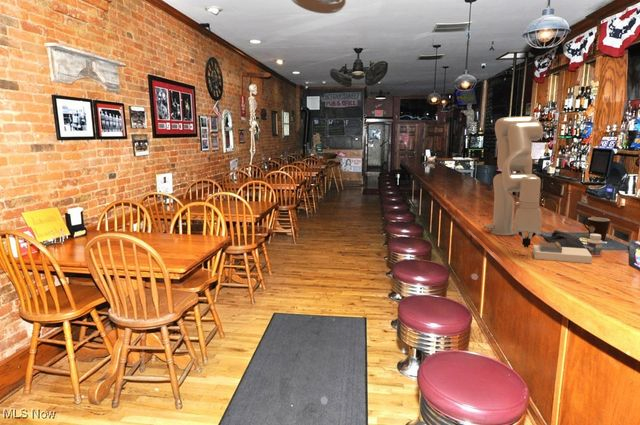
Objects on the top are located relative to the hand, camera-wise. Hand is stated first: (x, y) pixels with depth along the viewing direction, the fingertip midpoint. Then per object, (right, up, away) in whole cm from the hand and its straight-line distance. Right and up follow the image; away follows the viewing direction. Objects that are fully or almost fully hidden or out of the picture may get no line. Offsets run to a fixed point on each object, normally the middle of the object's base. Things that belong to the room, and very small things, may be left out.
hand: (526, 246), depth 170 cm
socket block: (+12, -4, -5) cm, 14 cm away
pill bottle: (+27, -3, -3) cm, 27 cm away
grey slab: (+8, -1, -4) cm, 9 cm away
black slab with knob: (+25, -1, +13) cm, 29 cm away
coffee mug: (+44, +2, +20) cm, 49 cm away
